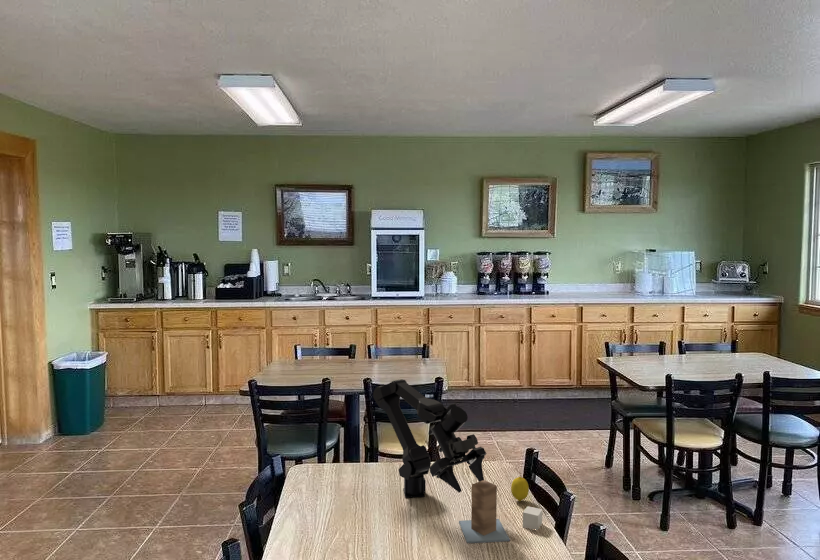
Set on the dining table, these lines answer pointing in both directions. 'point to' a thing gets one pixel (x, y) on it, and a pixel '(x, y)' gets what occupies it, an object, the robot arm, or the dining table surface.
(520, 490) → the lemon
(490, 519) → the tall block
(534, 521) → the grey cube
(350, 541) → the dining table surface
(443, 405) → the robot arm
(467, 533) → the slate mat
